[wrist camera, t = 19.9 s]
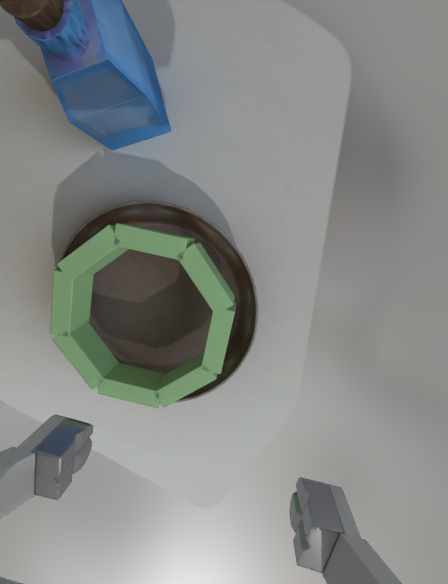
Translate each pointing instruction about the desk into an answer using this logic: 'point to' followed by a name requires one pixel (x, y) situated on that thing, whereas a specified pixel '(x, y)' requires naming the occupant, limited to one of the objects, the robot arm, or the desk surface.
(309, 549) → the robot arm
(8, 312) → the desk surface
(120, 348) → the plant saucer
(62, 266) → the ring
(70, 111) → the perfume bottle
